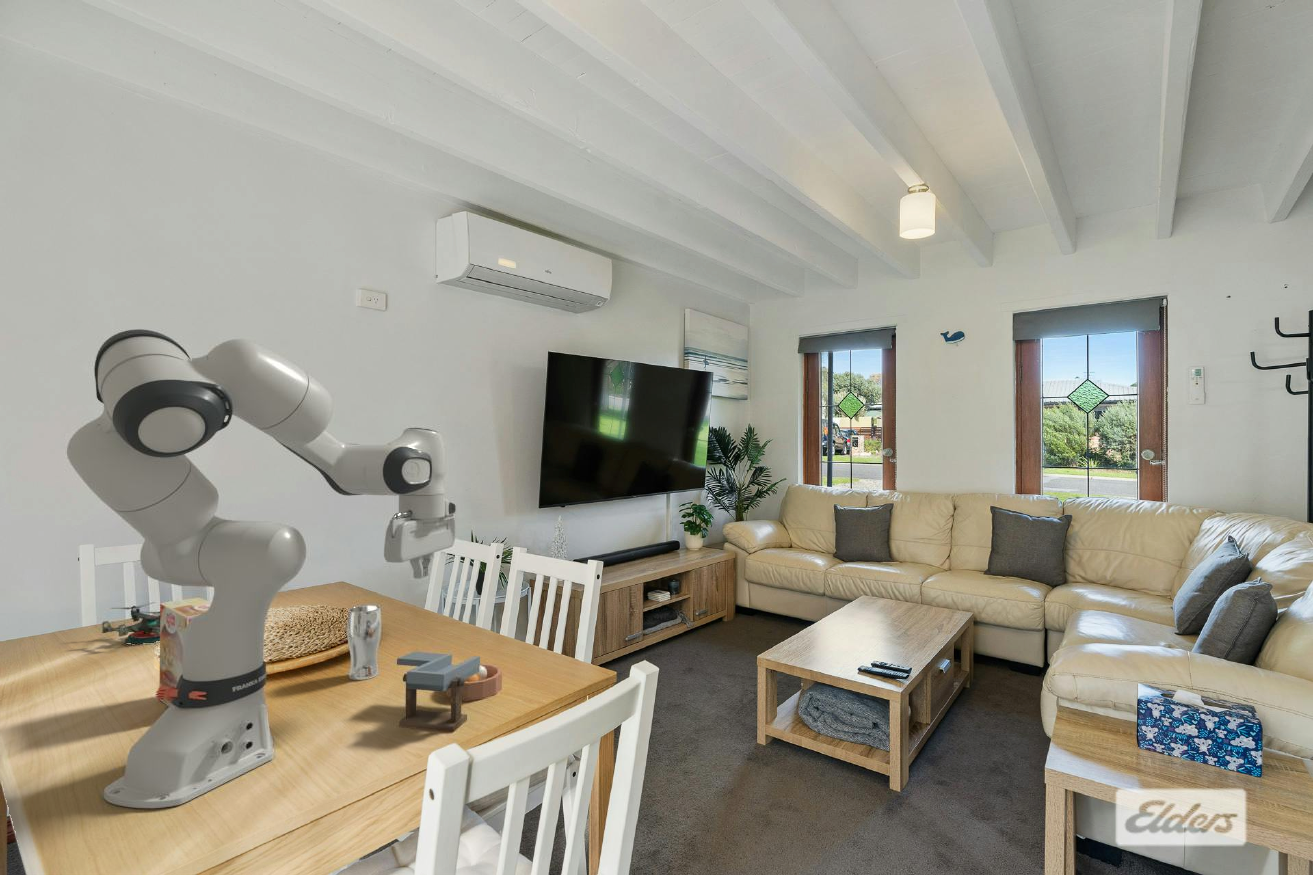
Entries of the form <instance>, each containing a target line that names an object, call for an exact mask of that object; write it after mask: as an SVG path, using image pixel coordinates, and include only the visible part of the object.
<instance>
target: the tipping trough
mask: <svg viewBox="0 0 1313 875" xmlns="http://www.w3.org/2000/svg"><path fill="white" fill-rule="evenodd" d="M452 657H453V653H452V654H451V653H449V654H448V653H436V652H426V651H423V652H422V651H413V652H410V653H408V654H405V655H402V656H400V657H398V658H396V666H409V667H414V668H412V669H410V670H407V671H406V674H407V681H406V682H405V690H406V689H417V690H420V691H429V692H441V693H443V692H445V691H446V692H447V689H449V688H451V681H452V680H453V679H455V678H456V677H462V678H464V679H467V678H469V677H471V676H473V675H474V674H476V673H478V672H479V667H480V662H481V656H479V655H478V656H477V655H474V656H473V657H470V658H468V659H466V660H464V661H463V662H460V663H458V664H452V662H453V661H452V660H453V658H452Z"/></svg>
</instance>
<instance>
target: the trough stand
mask: <svg viewBox="0 0 1313 875" xmlns="http://www.w3.org/2000/svg"><path fill="white" fill-rule="evenodd" d="M402 681H403V682H405V683H406V681H407V673H404V675H403V676H402ZM464 683H465V679H464V678H462V677H456V678H455V679H453V680H452V681H451V698H450V712H444V711H437V710H436V711H434V710H424V709H423V710H422V709H417V699H418V697H417V695H418V694H417V693H418V692H417V689H406V688H405V710H404V711H405V714H404V717H402V718H401V719H400V720H398V727H400V728H401V727H402V728H410V729H411V728H412V729H418V730H419V729H421V730H422V729H423V730H431V731H441V732H451V733H454V732H455V731H457V729H458V728H459V727H461V726H462V725H463V724H464V723H465V722H467V721H468V714H466V713H462V700H461V692H462V686H464Z"/></svg>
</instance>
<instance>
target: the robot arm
mask: <svg viewBox="0 0 1313 875" xmlns="http://www.w3.org/2000/svg"><path fill="white" fill-rule="evenodd" d="M93 370H94V380H95V392H96V398H97V400H98V401H99V402H100V403H101V404H103V410H102V411H103V412H102V413H101V415H100V416H98V417H97V418H95V419H94V420H91V421H89V422H88V423H86V424H85V425H83V426H81V427H80V428H78V430H77V431H75V433H74V434H73V435H72V436H71V438H70V439H69V441H68V444H67V447H66V455H67V460H68V461H69V463H70V464H71V466H72V468H73V469H74V471H75V472H76V473H77V474H78V476H79V478H81V480H82V481H83V482H84V483H85V484H86V486H87V487H88V488H89V489H90V490H91V491H92V492H93V493H94V495H95V496H96V497H97V498H99V499H100V500H101V501H102V502H103V503H104V504H105V505H106V506H107V507H109V509H111V510H112V511H113V512H115V513H116V514H117V515H118V516H119V517H120V518H122V520H124V521H125V522H126V523H128V525H129V526H130V527H132V528H133V529H134V530H135V531H136V532H137V533H138V534H140V536H142V538H143V539H144V542H143V544H142V546H141V548H140V553H139V554H140V556H139V559H140V564H141V567H142V568H141V569H142V570H143V571H144V573H145V574H146V575H147V576H148V577H149V578H151V579H153V580H156V581H159V582H162V583H163V582H164V583H166V584H171V585H174V586H180V587H200V588H201V587H205V588H210V587H211V588H214V589H213V597H212V601H211V605H210V607H209V609H208V610H207V611H205V612H203V613H201V614H200V615H198V616H197V617H195V618H194V619H193V620H192V621H191V622H190V623H189V624H188V625H187V626H186V628H185V630H184V633H183V674H182V675H181V676H180V678H179V681H178V683H177V686H176V688H175V687H173V686H172V687H169V686H161V687H160V688H159V687H158V688H157V690H156V692H155V698H156V699H157V700H159V699H166V700H171V699H172V700H171V703H172V704H171V705H170V707H168V708H167V709H166V710H165V711H164V712H162V714H161V715H160V716H159V718H158V719H157V720H155V722H154V723H153V724H152V725H151V726H150V727H149V728H148V729H147V730H146V731H145V733H143V734H142V736H141V737H140V738H139V739H137V741H135V743H134V744H133V745H132V747H130V750H129V752H128V754H127V758H126V764H125V770H124V775H123V776H121V777H119V778H118V779H116V780H115V781H113V782H111V783H110V784H108V785H107V786H106V787H105V788H104V789H103V798H104V799H105V801H106V802H108V803H110V804H113V805H116V806H121V807H127V808H134V809H135V808H136V809H160V808H162V809H163V808H169V807H174V806H175V807H176V806H180V805H183V804H185V803H186V802H189V801H191V800H193V799H195V798H197V797H199V796H201V795H204V794H205V793H207V792H209V791H211V790H213V789H215V788H218V787H220V786H221V785H223V784H225V783H226V782H229V781H231V780H233V779H235V778H238V777H239V776H241V775H244V774H245V773H247V772H249V771H251V770H253V769H255V768H257V767H260V766H262V765H263V764H266V763H268V762H270V761H272V760H273V759H274V758H275V749H274V747H273V746H274V739H273V736H272V733H271V729H270V724H269V723H270V722H269V716H268V709H267V708H268V707H267V703H266V702H267V701H266V696H265V688H264V687H265V686H266V684H267V675H268V672H267V664H266V663H267V662H266V661H264V646H265V644H264V643H265V642H264V641H265V628H266V621H267V616H268V613H269V610H270V607H271V604H272V603H273V601H274V599H275V597H276V596H277V594H279V591H280V590H282V588H283V587H285V586H286V585H287V584H288V583H289V582H291V581H292V580H293V579H295V578H296V577H297V575H298V574H299V573H300V571H301V570H302V568H303V566H304V563H305V560H306V556H307V545H306V541H305V539H304V537H303V534H302V533H301V532H300V531H299V530H298V529H297V528H295V527H293V526H289V525H286V524H283V523H282V524H281V523H277V522H273V521H269V520H266V521H265V520H231V519H225V518H221V517H219V516H217V515H215V514H216V512H217V510H218V507H219V499H220V498H219V496H220V495H219V492H218V489H217V488H216V486H215V485H214V484H213V483H212V482H211V481H210V480H209V479H208V478H207V476H205V475H204V473H202V471H201V470H200V469H199V468H198V467H197V466H196V465H195V464H194V463H193V462H192V461H191V460H190V459H189V457H187V455H186V454H188V453H191V452H193V451H195V450H197V449H198V448H201V447H202V446H203V445H205V444H206V443H208V442H209V441H210V440H211V439H212V438H213V437H214V436H215V435H216V434H217V433H218V432H219V431H222V430H223V429H225V428H227V427H228V426H229V425H230V423H231V420H232V417H233V416H234V417H236V418H238V419H240V420H242V421H243V422H246V423H247V424H249V425H250V426H252V427H254V428H256V429H258V430H259V431H261V432H263V433H265V435H267V436H270V437H272V438H273V439H274V440H275V441H276V442H278V443H279V444H280V445H281V446H282V447H284V448H285V449H287V450H288V451H290V452H291V453H292V454H294V455H296V456H297V457H298V458H300V459H301V460H303V461H304V462H305V463H307V464H309V465H310V466H312V467H313V468H314V469H315V470H317V471H318V472H319V473H320V474H321V476H322V477H323V478H324V479H325V481H326V482H327V484H328V485H329V486H330V487H331V489H332V490H334V492H336V493H338V494H339V495H343V496H362V495H366V496H367V495H368V496H369V495H370V496H394V497H395V496H398V512H396V513H395V514H394V515H393V516H392V517H391V519H390V520H389V524H388V525H387V527H386V529H385V530H386V532H385V538H384V539H385V540H384V548H383V557H384V560H385V561H386V563H395V564H397V563H405V562H408V561H409V563H410V565H411V567H412V571H413V578H414V579H423V578H425V577H428V576H430V567H431V565H432V562H433V559H434V553H436V552H439V551H443V550H446V549H450V548H452V547H453V546H454V544H455V541H456V531H457V530H456V527H457V523H456V522H457V521H456V520H457V519H456V516H455V515H456V514H457V512H458V505H457V503H456V502H454V501H451V500H449V499H448V498H446V488H445V486H444V481H445V476H446V469H447V468H446V467H447V466H446V449H445V443H444V438H443V436H442V434H441V433H439V431H437V430H434V429H431V428H430V429H429V428H422V427H408V428H405V429H403V432H402V434H401V435H400V436H399V437H397V438H396V439H395V440H393V441H390V442H388V443H387V444H359V443H355V444H354V443H347V442H346V443H345V442H342V441H339V440H338V439H337V438H335V437H334V436H332V434H330V433H329V432H327V431H326V429H327V428H328V426H329V424H330V422H331V419H332V416H333V412H334V411H333V410H334V405H333V404H334V403H333V399H332V395H331V394H330V392H329V391H328V390H327V388H325V386H324V385H323V384H322V383H320V382H319V381H318V380H317V379H316V378H314V377H313V376H312V375H311V374H309V373H308V372H306V371H305V370H303V369H302V368H300V367H299V366H297V365H296V364H295V363H293V362H291V361H290V360H289V359H287V358H285V357H283V356H282V355H280V354H278V353H276V352H275V351H273V350H270V349H269V348H267V347H265V346H262V345H260V344H258V343H256V342H254V341H251V340H248V339H245V338H244V339H242V338H240V339H239V338H236V339H229V340H226V341H223V342H222V343H219V344H218V345H215V347H213V348H212V349H211V350H210V351H209V352H208V353H207V354H205V355H202V356H200V357H193V358H190V356H189V353H188V352H187V351H186V349H184V348H183V346H181V345H180V344H179V342H177V341H175V340H174V339H173V338H171V337H169V336H168V335H165V334H163V333H160V332H157V331H153V330H149V329H129V330H124V331H121V332H118V333H116V334H114V335H112V336H110V337H109V338H107V339H106V340H105V341H104V342H103V343H102V345H101V346H100V347H99V349H98V352H97V354H96V356H95V362H94V369H93ZM226 417H227V419H226ZM225 420H226V421H225Z"/></svg>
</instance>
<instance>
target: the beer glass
mask: <svg viewBox="0 0 1313 875" xmlns="http://www.w3.org/2000/svg"><path fill="white" fill-rule="evenodd" d="M347 613H348V614H347V623H346V625H347V626H346V636H347V642H348V649H349V653H350V669H349V672H348V678H349V679H350V680H353V681H365V680H369V679H373V678H374V677H375V678H376V677H377V676H379V666H378V651H379V645H380V641H381V636H382V635H381V634H382V611H381V606H380V605H378V604H362V605H357V606H353V607H350V608H349V609H348V612H347Z"/></svg>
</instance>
